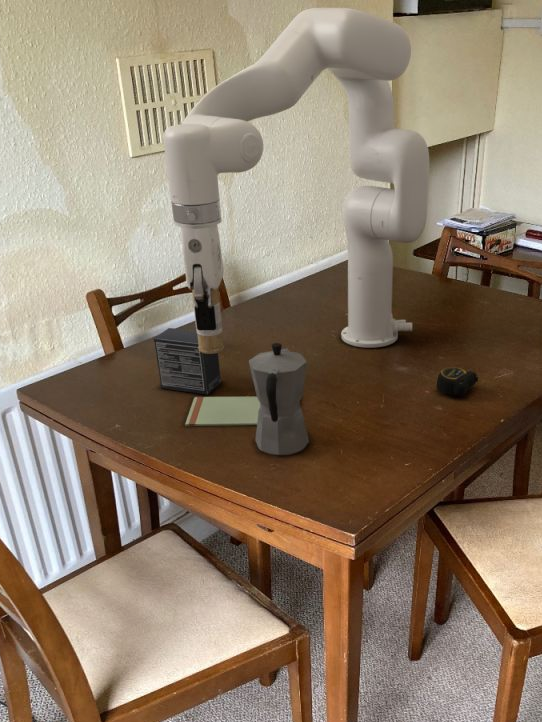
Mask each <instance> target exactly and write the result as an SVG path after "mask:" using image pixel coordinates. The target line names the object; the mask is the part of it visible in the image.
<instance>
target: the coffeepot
mask: <svg viewBox="0 0 542 722" xmlns="http://www.w3.org/2000/svg"><path fill="white" fill-rule="evenodd" d="M282 347H283V345H282V343H279V342H274V343H272V344H271V349H272V350H271V351H263V352H258V354H256V355H254V356H253V357H252V358H250V359H249V360H248V364H249V369H250V373H251V377H252V381H253V386H254V390H255V395H256V396H257V398H258V400H259V402H260V409H259V411H258V421H257V425H256V432H255V443H256V445H257V447H258V449H259V450H260V451H261V452H264V454H267V455H271V456H289V455H294V454H296V453H299V452H301V451H302V450H304V449H305V448H306V447H307V445H308V444H309V443H310V440H309V435H308V431H307V425H306V421H305V417H304V413H303V409H302V407H301V400H302V399H303V395H304V387H305V381H306V380H305V379H306V371H307V360H306V359H305V358H304V356H303V355H302V354H301V353H300V352H295V351H291V350H290V349H289V348H288V347H284V348H282Z"/></svg>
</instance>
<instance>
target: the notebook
mask: <svg viewBox="0 0 542 722" xmlns="http://www.w3.org/2000/svg"><path fill="white" fill-rule="evenodd" d="M259 409H260V402H259V400H258V398H257V395H256V396H194V398H193V400H192V403H191V406H190V409H189V412H188V415H187V416H186V417H187V418H186V420H185V423H184V425H185V426H184V427H196V426H197V427H208V426H209V427H211V426H215V427H218V426H219V427H220V426H257V421H258V411H259Z"/></svg>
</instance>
